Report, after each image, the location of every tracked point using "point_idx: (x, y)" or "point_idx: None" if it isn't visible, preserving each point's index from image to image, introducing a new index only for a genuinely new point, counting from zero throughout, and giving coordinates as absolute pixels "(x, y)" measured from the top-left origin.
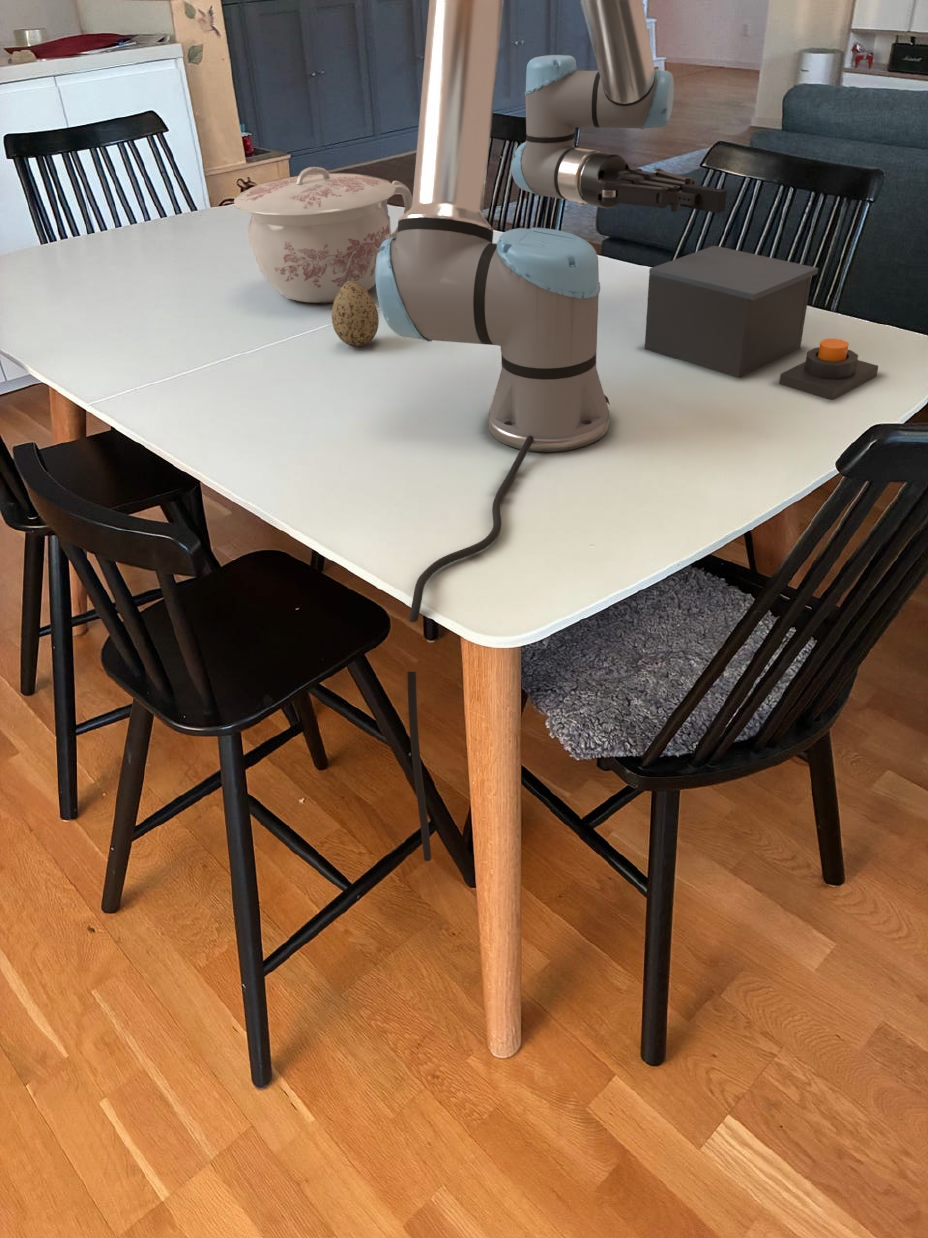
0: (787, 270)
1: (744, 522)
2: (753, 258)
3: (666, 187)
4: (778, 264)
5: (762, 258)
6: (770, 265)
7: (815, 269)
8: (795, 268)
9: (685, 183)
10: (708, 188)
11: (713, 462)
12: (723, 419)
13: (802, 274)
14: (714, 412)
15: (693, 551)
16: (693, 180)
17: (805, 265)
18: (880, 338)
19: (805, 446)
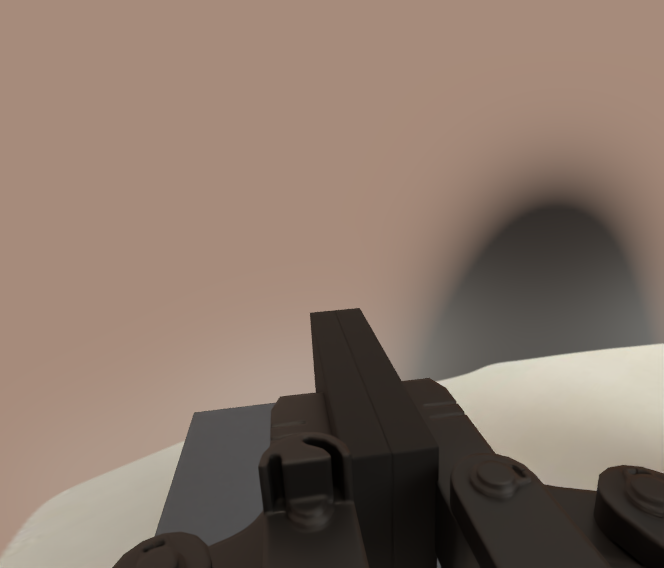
0: (253, 429)
1: (600, 350)
2: (199, 537)
3: (588, 553)
4: (218, 463)
5: (184, 521)
6: (239, 468)
7: (205, 412)
8: (226, 430)
9: (350, 491)
10: (346, 347)
11: (597, 402)
12: (540, 455)
13: (257, 405)
14: (545, 474)
15: (659, 344)
16: (174, 541)
17: (191, 431)
18: (80, 525)
19: (476, 389)
